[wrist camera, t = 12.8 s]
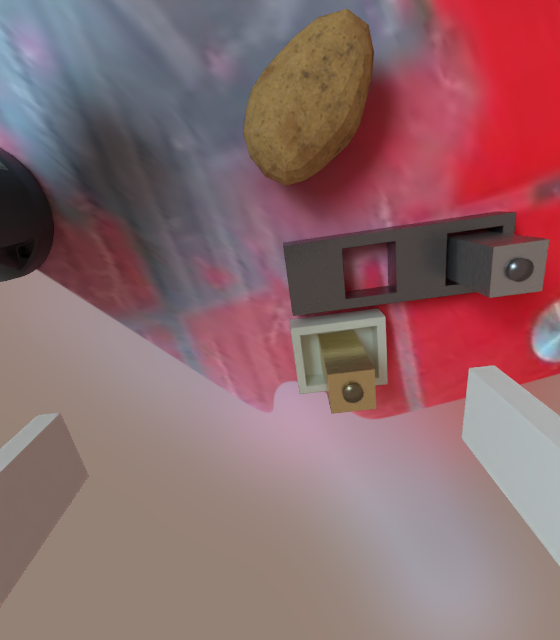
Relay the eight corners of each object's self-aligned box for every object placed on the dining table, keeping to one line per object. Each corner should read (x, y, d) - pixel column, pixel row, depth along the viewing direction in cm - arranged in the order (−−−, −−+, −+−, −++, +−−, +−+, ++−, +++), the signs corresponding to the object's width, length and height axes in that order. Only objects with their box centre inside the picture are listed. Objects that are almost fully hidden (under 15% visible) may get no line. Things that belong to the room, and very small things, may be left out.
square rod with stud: (438, 274, 38) (492, 298, 28) (439, 235, 36) (496, 247, 26) (477, 269, 37) (545, 292, 28) (480, 229, 36) (553, 239, 26)
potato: (388, 83, 31) (420, 45, 24) (303, 207, 35) (307, 207, 28) (309, 11, 29) (316, -55, 22) (229, 150, 33) (212, 135, 26)
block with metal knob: (317, 334, 40) (328, 377, 30) (353, 330, 40) (375, 371, 30) (321, 365, 41) (332, 416, 32) (355, 361, 41) (377, 411, 31)
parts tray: (298, 381, 43) (299, 394, 40) (289, 319, 40) (290, 328, 37) (380, 371, 42) (387, 384, 39) (378, 308, 39) (385, 316, 36)
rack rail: (292, 307, 39) (292, 315, 37) (283, 242, 37) (283, 245, 34) (491, 281, 38) (508, 287, 35) (497, 211, 35) (516, 212, 32)
